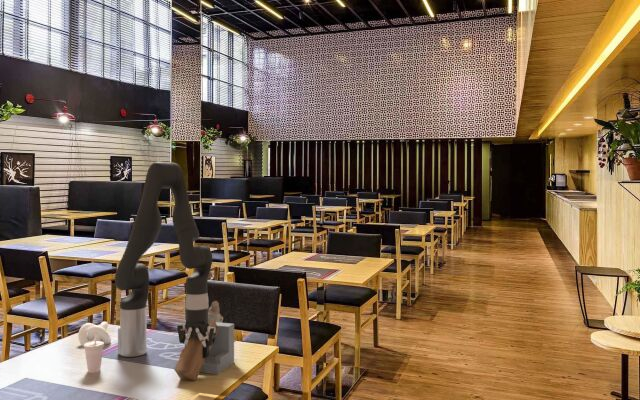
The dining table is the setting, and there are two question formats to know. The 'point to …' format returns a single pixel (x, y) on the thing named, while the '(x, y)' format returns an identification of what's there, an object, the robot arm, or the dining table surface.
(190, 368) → the rail
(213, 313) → the figurine
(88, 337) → the cream rounded lobed piece
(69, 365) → the dining table surface
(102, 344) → the smoothie
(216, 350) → the bracket
